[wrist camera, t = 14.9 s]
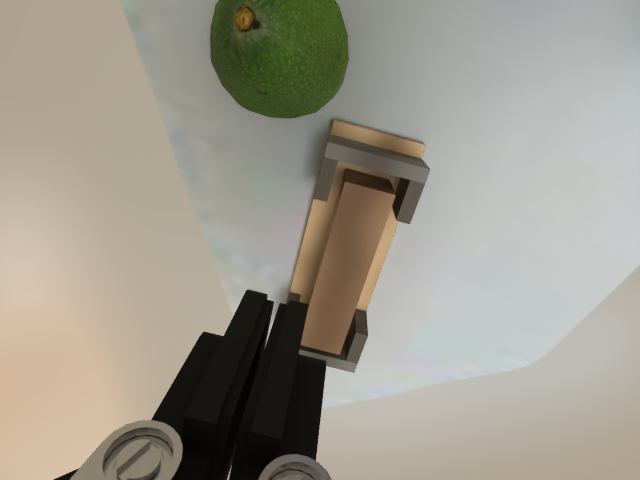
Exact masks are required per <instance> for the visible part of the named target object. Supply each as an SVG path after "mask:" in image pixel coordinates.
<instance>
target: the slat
mask: <svg viewBox="0 0 640 480" xmlns="http://www.w3.org/2000/svg"><path fill="white" fill-rule="evenodd" d="M395 196H396V195H395V192H394V189H393V187H392V184H391V181H390V180H388V179H385V178H381V177H377V176H374V175H370V174H366V173H362V172H359V171H355V170H351V169H348V168H346V169H345V172H344V176H343V179H342V183H341V186H340V190H339V193H338V197H337V200H336V204H335V207H334V211H333V214H332V218H331V221H330V225H329V228H328V232H327V235H326V239H325V242H324V246H323V249H322V253H321V256H320V260H319V263H318V267H317V270H316V274H315V277H314V281H313V284H312V288H311V291H310V295H309V298H308V302H307V304H309V307H308V312H307V317H306V321H305V326H304V331H303V336H302V340H301V345H302V346H306V347H310V348H314V349H318V350H322V351H326V352H330V353H334V354H338V355H340V353H341V350H342V347H343V344H344V341H345V338H346V335H347V333H348V330H349V327H350V324H351V321H352V318H353V316H354V313H355V310H356V307H357V304H358V301H359V298H360V296H361V293H362V290H363V287H364V284H365V281H366V279H367V276H368V273H369V270H370V267H371V264H372V261H373V259H374V256H375V253H376V250H377V247H378V244H379V242H380V239H381V236H382V233H383V230H384V227H385V224H386V222H387V219H388V216H389V213H390V210H391V207H392V205H393V202H394V199H395Z"/></svg>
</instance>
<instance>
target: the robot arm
mask: <svg viewBox="0 0 640 480" xmlns="http://www.w3.org/2000/svg"><path fill="white" fill-rule="evenodd" d="M273 305H274V301H270V300H267V294H264V293H260V292H256V291H252V290H247V291H246V292H245V294H244V296H243V298H242V300H241V302H240V304H239V306H238V308H237V310H236V312H235V314H234V316H233V319H232V321H231V323H230V325H229V327H228V329H227V331H226V333H225V335H224V336H220V335H216V334H211V333H207V332H203V333H202V335H201V336H200V337H199V339H198V340H197V342H196V344H195V346H194V347H193V349H192V351H191V353H190V354H189V356H188V358H187V359H186V361H185V363H184V365H183V366H182V368H181V370H180V371H179V373H178V375H177V377H176V378H175V380H174V382H173V384H172V385H171V387H170V389H169V390H168V392H167V394H166V396H165V397H164V399H163V401H162V402H161V404H160V406H159V407H158V409H157V411H156V413H155V414H154V416H153V418H152V420H146V421H145V420H143V421H137V422H134V423H130V424H127V425H125V426H123V427H121V428H119V429H118V430H116V431H114V432H113V433H112V434H111V435H109V437H107V438H106V439H105V440H104V441H103V442H102V443H101V444H100V445H99V447H98V448H97V449H96V450H95V451H94V452H93V453H92V455H91V456H90V457H89V458H88V459H87V460H86V461H85V463H84V464H83V465H82V466H81V467H80V468H79V469H77V470H74V471H72V472H70V473H68V474H65V475H63V476H61V477H59V478H56V479H54V480H227V478H228V474H229V471H230V468H231V465H232V468H231V473H230V478H229V480H332V479H331V477H330V475H329V474H328V472H327V471H326V470H325V469H324V468H323V467H322V466H321V465H320V464H319V463H318V462H316V453H317V444H318V435H319V425H320V417H321V408H322V399H323V390H324V381H325V372H326V361H325V360H321V359H317V358H313V357H308V356H304V355H300V354H299V350H300V345H301V340H302V336H303V331H304V326H305V321H306V317H307V312H308V307H309V304H306V303H302V302H298V301H294V300H289V302H288V305H287V304H282V303H280V305H279V307H278V311H277V314H276V317H275V320H274V323H273V326H272V329H271V332H270V335H269V338H268V341H267V344H266V340H267V335H268V330H269V325H270V320H271V315H272V310H273ZM265 345H266V347H265ZM264 349H265V350H264Z"/></svg>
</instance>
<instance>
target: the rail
mask: <svg viewBox="0 0 640 480" xmlns="http://www.w3.org/2000/svg"><path fill="white" fill-rule="evenodd" d="M425 147H426V145H425V144H424V143H421V142H418V141H414V140H410V139H407V138H403V137H399V136H396V135H392V134H388V133H385V132H381V131H377V130H374V129H370V128H366V127H362V126H359V125H355V124H351V123H348V122H344V121H340V120H337V119H334V121H333V125H332V129H331V133H330V136H329V139H328V142H327V146H326V150H325V154H324V158H323V162H322V166H321V170H320V174H319V177H318V181H317V185H316V189H315V193H314V197H313V203H312V207H311V211H310V215H309V219H308V222H307V226H306V230H305V234H304V238H303V242H302V246H301V250H300V254H299V258H298V262H297V265H296V269H295V273H294V277H293V281H292V285H291V289H290V293H289V296H288V300H287V305H288V302H289V300H294V301H298V302H302V303H306V304H307V302H308V298H309V295H310V291H311V288H312V284H313V281H314V277H315V274H316V270H317V267H318V263H319V260H320V256H321V253H322V249H323V246H324V242H325V239H326V235H327V232H328V228H329V225H330V221H331V218H332V214H333V211H334V207H335V204H336V200H337V197H338V193H339V190H340V186H341V183H342V179H343V176H344V172H345V169H346V168H348V169H351V170H355V171H359V172H362V173H366V174H370V175H374V176H377V177H381V178H385V179H388V180H390V181H391V184H392V187H393V189H394V192H395V195H396V196H395V199H394V202H393V205H392V207H391V210H390V213H389V216H388V219H387V222H386V224H385V227H384V230H383V233H382V236H381V239H380V242H379V244H378V247H377V250H376V253H375V256H374V259H373V261H372V264H371V267H370V270H369V273H368V276H367V279H366V281H365V284H364V287H363V290H362V293H361V296H360V298H359V301H358V304H357V307H356V310H355V313H354V316H353V318H352V321H351V324H350V327H349V330H348V333H347V335H346V338H345V341H344V344H343V347H342V350H341V353H340V355H338V354H334V353H330V352H326V351H322V350H318V349H314V348H310V347H306V346H302V345H300V350H299V354H300V355H304V356H308V357H313V358H317V359H321V360H325V361H326V366H329V367H333V368H337V369H341V370H345V371H349V372H353V373H354V372H355V369H356V366H357V364H358V361H359V358H360V356H361V353H362V350H363V348H364V345H365V342H366V340H367V337H368V330H367V315H366V310H367V308H368V305H369V302H370V299H371V297H372V294H373V291H374V288H375V286H376V283H377V280H378V277H379V274H380V272H381V269H382V266H383V263H384V261H385V258H386V255H387V252H388V250H389V247H390V244H391V241H392V238H393V236H394V233H395V230H396V227H397V225H398V222H399V221H400V222H404V223H407V224H410V222H411V220H412V217H413V214H414V212H415V209H416V206H417V204H418V201H419V198H420V196H421V193H422V190H423V188H424V185H425V182H426V180H427V177H428V174H429V172H430V168H429V167H428V166H427V165H426V164H425V162H424V161H423V160H422V159H421V158H422V155H423V153H424V150H425Z"/></svg>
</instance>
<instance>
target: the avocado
mask: <svg viewBox="0 0 640 480" xmlns="http://www.w3.org/2000/svg"><path fill="white" fill-rule="evenodd" d="M210 43H211V61H212V64H213V67H214V69H215V71H216V73H217V75H218V77H219V79H220V81H221V83H222V85H223V86H224V88H225V89H226V90H227V91H228V92H229V93H230V95H231V96H232V97H233V98H234V99H235V100H236V102H237V103H238V104H240V105H241V106H242V107H244V108H246V109H248V110H250V111H253V112H256V113H259V114H262V115H265V116H268V117H276V118H296V117H300V116H303V115H307V114H311V113H315V112H317V111H318V110H319V109H320V108H322V107H323V106H324V105H325V104H326V103H328V102H329V101H330V100H331V99H332V98H333V97H334V96H335V94H336V93H337V92H338V90H339V88H340V86H341V85H342V83H343V79H344V75H345V71H346V68H347V64H348V60H349V58H348V35H347V32H346V28H345V25H344V21H343V18H342V15H341V11H340V8H339V5H338V4H337V3H336V1H335V0H219V1H218V3H217V4H216V6H215V12H214V15H213V20H212V24H211V35H210Z"/></svg>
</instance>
